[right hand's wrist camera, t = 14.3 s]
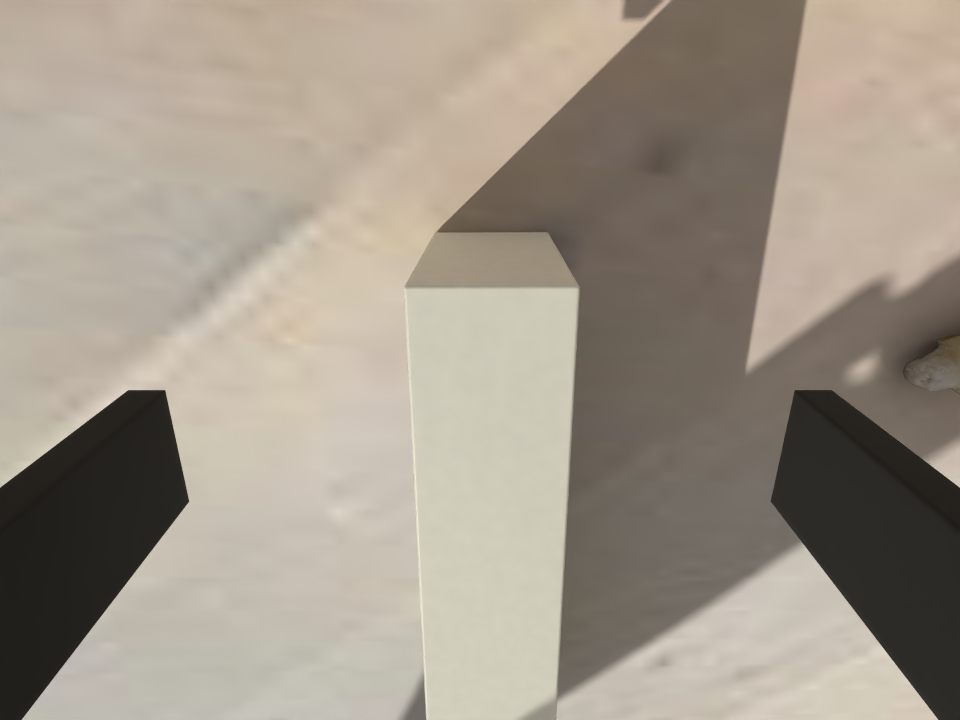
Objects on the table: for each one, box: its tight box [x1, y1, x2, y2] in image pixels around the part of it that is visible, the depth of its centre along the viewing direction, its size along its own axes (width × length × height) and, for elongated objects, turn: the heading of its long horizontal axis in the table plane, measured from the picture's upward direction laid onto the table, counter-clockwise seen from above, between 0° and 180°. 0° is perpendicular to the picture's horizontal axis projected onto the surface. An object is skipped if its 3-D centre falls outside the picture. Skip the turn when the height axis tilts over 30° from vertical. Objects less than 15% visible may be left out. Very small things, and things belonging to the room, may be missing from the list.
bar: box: [404, 232, 580, 720], centre depth 23 cm, size 24×4×9 cm, turn 0°
